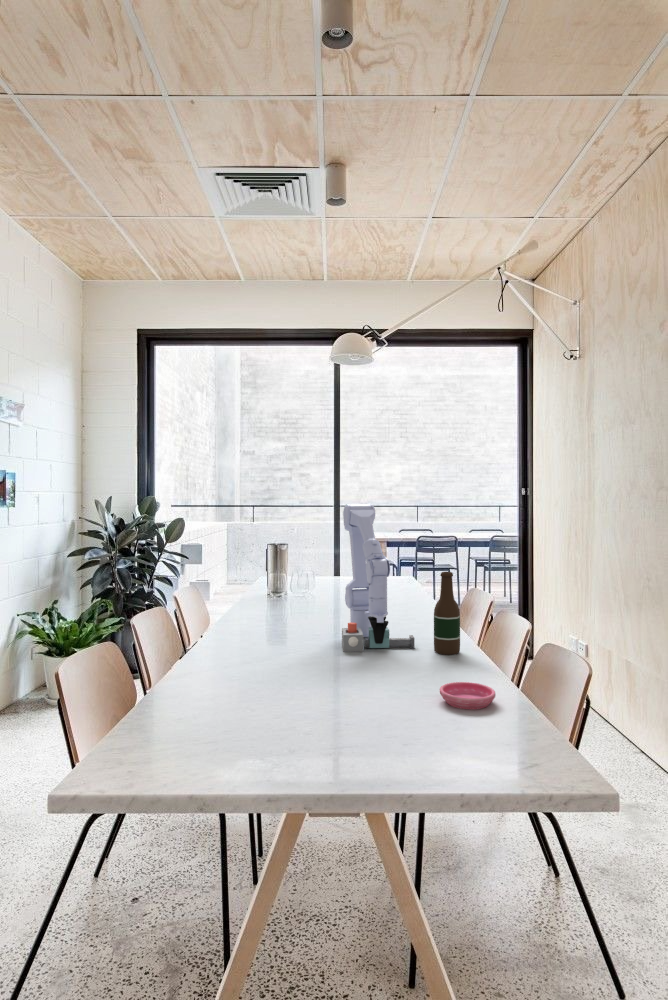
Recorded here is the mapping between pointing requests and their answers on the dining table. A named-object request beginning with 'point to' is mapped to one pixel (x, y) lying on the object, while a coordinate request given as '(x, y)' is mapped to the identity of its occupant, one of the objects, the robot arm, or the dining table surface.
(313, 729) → the dining table surface
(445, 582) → the beer bottle
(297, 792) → the dining table surface
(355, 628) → the plunger
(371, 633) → the block
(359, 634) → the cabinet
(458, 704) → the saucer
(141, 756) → the dining table surface
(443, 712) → the dining table surface
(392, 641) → the rail
